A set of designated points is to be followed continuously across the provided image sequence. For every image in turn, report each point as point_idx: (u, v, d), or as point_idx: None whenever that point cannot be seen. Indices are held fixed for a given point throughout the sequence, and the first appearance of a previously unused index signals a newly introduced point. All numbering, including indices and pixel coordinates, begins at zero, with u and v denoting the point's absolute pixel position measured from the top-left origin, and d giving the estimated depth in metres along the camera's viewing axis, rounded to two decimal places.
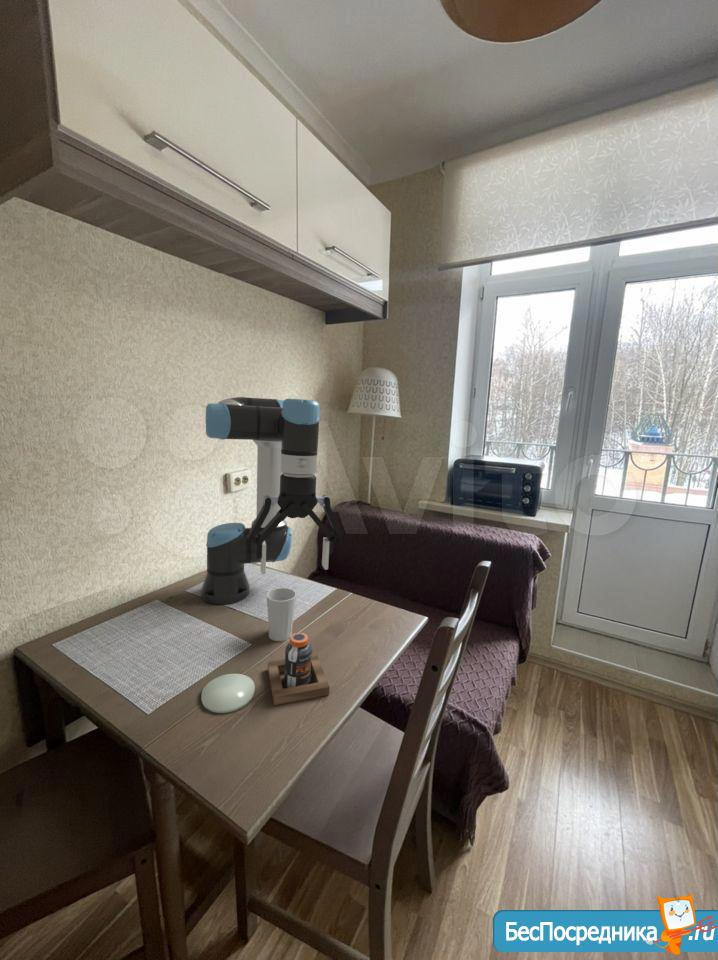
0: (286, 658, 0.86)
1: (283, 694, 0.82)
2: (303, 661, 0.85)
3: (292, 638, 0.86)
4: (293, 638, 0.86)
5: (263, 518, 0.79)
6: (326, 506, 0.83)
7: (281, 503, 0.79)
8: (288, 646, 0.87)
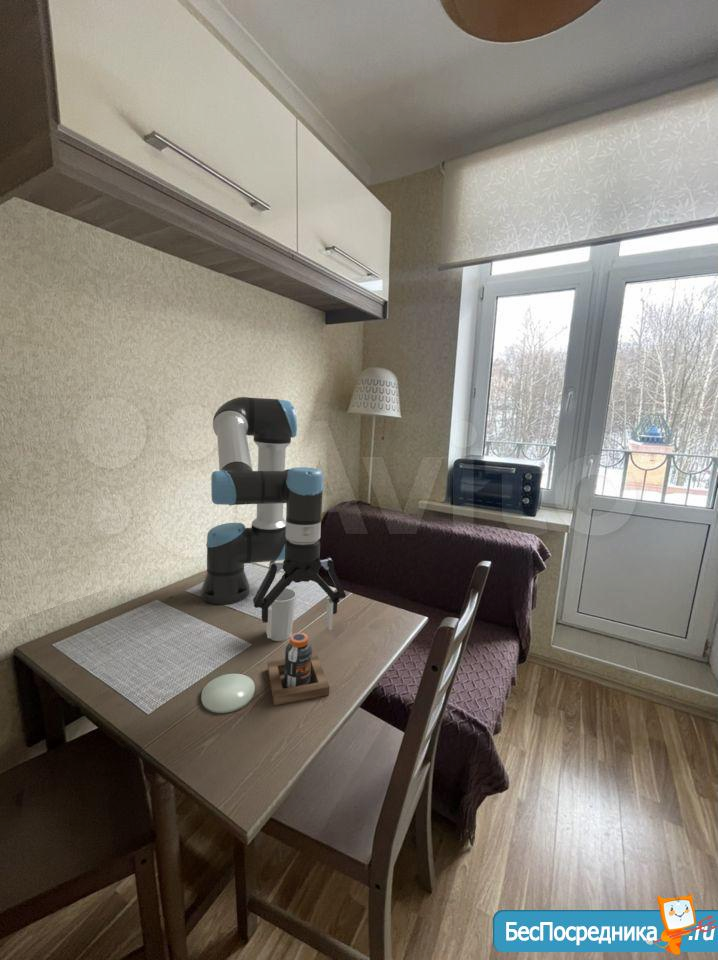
0: (286, 658, 0.86)
1: (283, 694, 0.82)
2: (303, 661, 0.85)
3: (292, 638, 0.86)
4: (293, 638, 0.86)
5: (269, 584, 0.81)
6: (330, 569, 0.85)
7: (286, 569, 0.82)
8: (288, 646, 0.87)
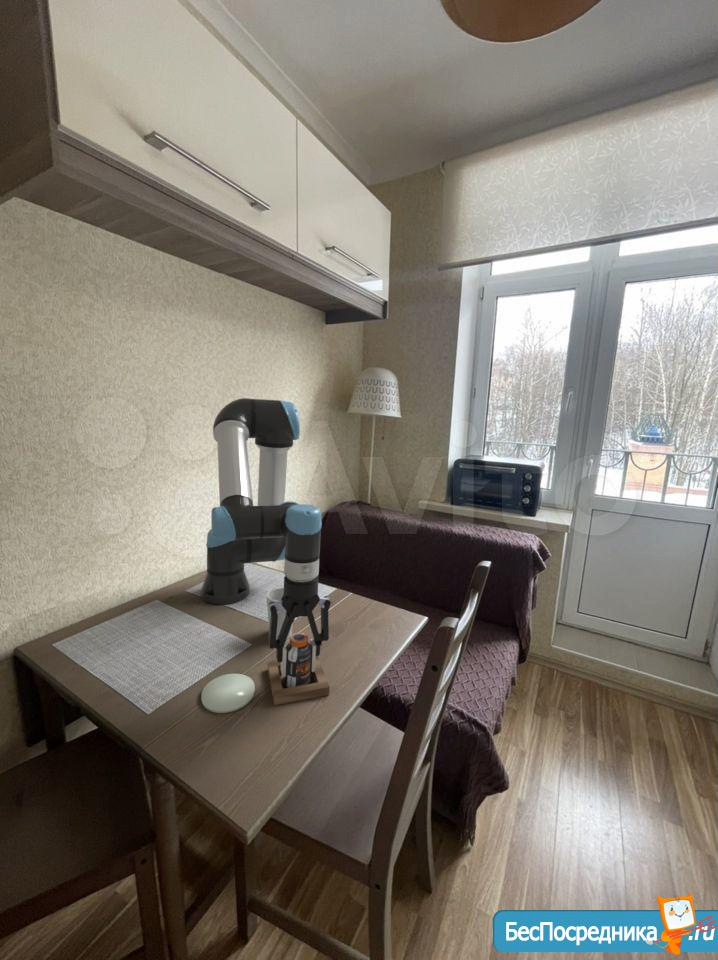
0: (286, 658, 0.86)
1: (283, 694, 0.82)
2: (303, 660, 0.85)
3: (292, 638, 0.86)
4: (293, 638, 0.86)
5: (275, 625, 0.83)
6: (325, 608, 0.86)
7: (285, 605, 0.83)
8: (288, 646, 0.87)
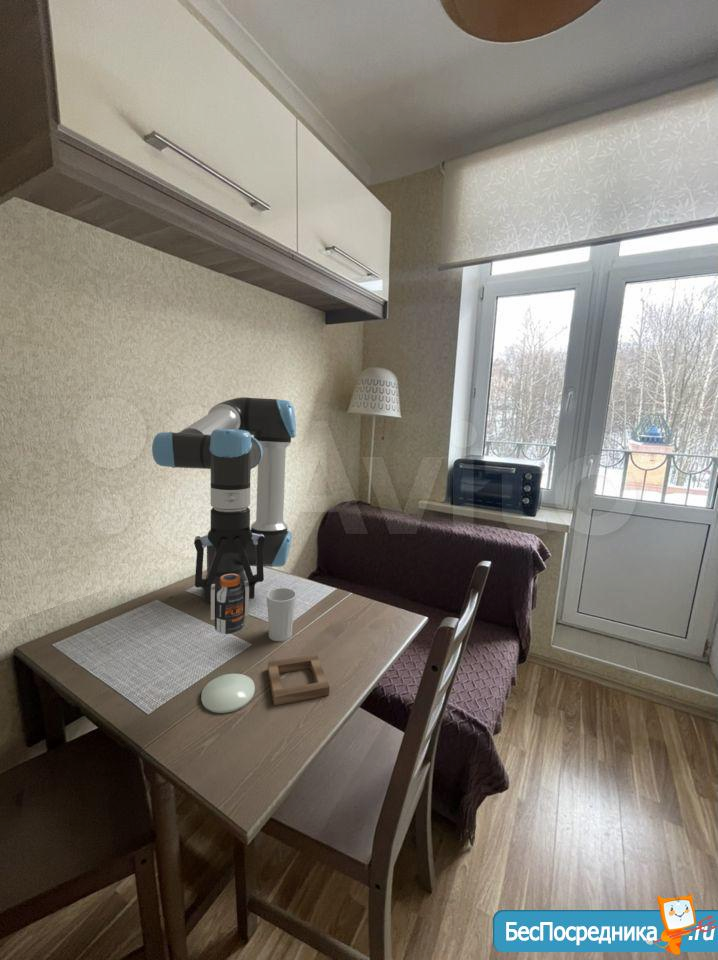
0: (215, 599, 0.78)
1: (283, 694, 0.82)
2: (233, 601, 0.77)
3: (222, 578, 0.79)
4: (223, 577, 0.79)
5: (200, 560, 0.75)
6: (258, 545, 0.79)
7: (212, 539, 0.76)
8: (218, 587, 0.79)
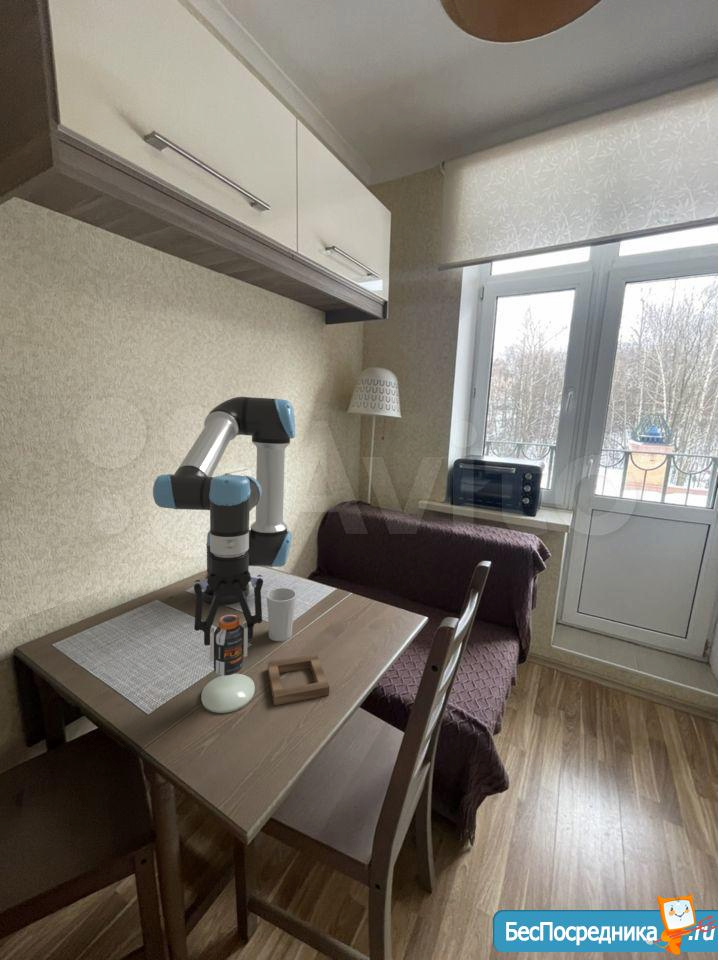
0: (214, 641, 0.80)
1: (283, 694, 0.82)
2: (232, 644, 0.79)
3: (221, 620, 0.80)
4: (222, 619, 0.80)
5: (200, 604, 0.77)
6: (257, 588, 0.80)
7: (211, 583, 0.77)
8: (217, 629, 0.80)
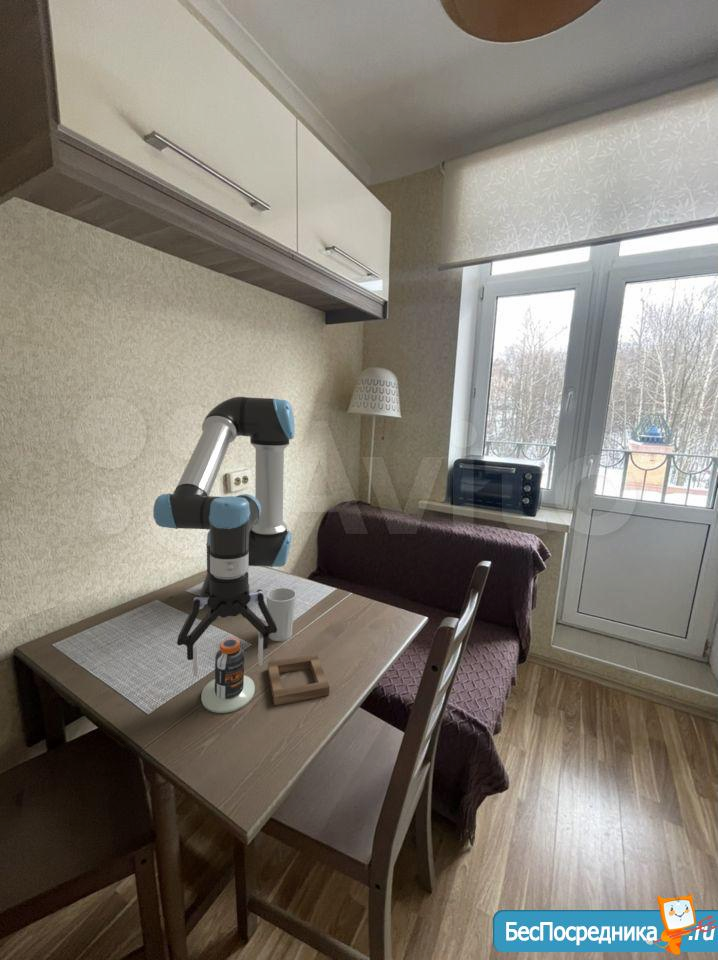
0: (215, 665, 0.81)
1: (283, 694, 0.82)
2: (232, 668, 0.80)
3: (222, 644, 0.81)
4: (223, 644, 0.81)
5: (192, 621, 0.77)
6: (259, 603, 0.81)
7: (211, 604, 0.78)
8: (218, 652, 0.82)
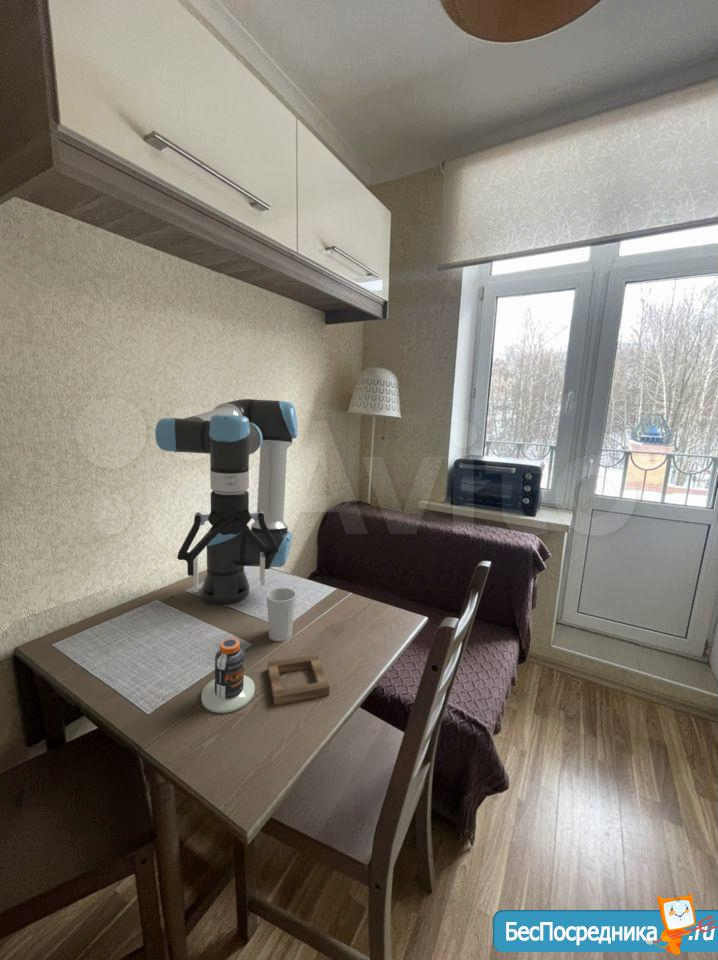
0: (215, 665, 0.81)
1: (283, 694, 0.82)
2: (232, 668, 0.80)
3: (222, 644, 0.81)
4: (223, 644, 0.81)
5: (193, 536, 0.78)
6: (260, 522, 0.82)
7: (212, 520, 0.78)
8: (218, 653, 0.82)
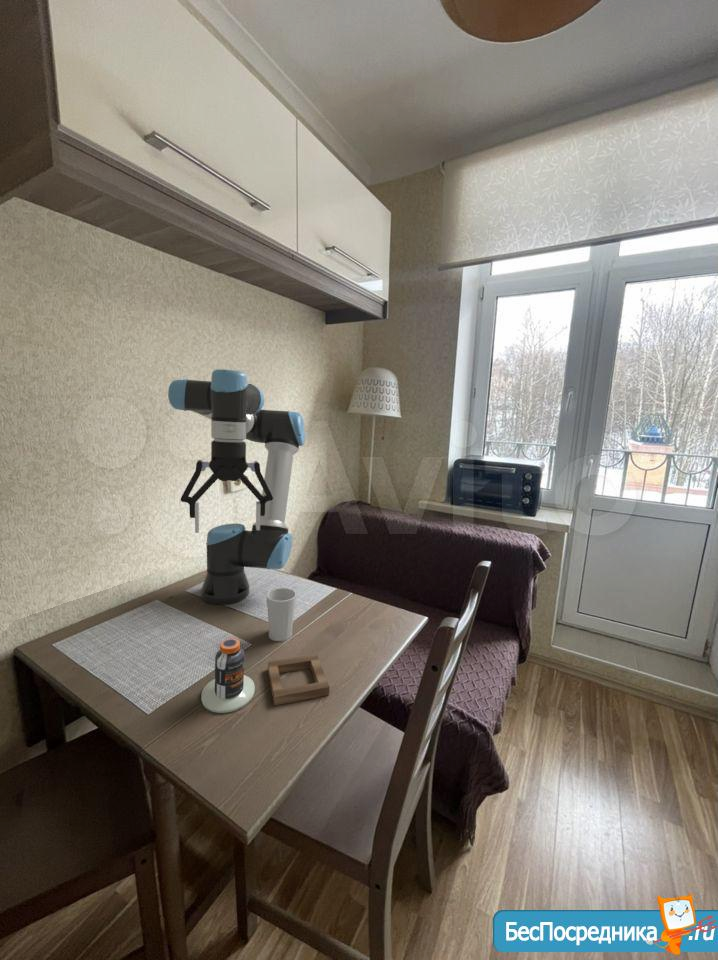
0: (215, 665, 0.81)
1: (283, 694, 0.82)
2: (232, 668, 0.80)
3: (222, 644, 0.81)
4: (223, 644, 0.81)
5: (195, 480, 0.86)
6: (256, 470, 0.90)
7: (212, 466, 0.86)
8: (218, 653, 0.82)
